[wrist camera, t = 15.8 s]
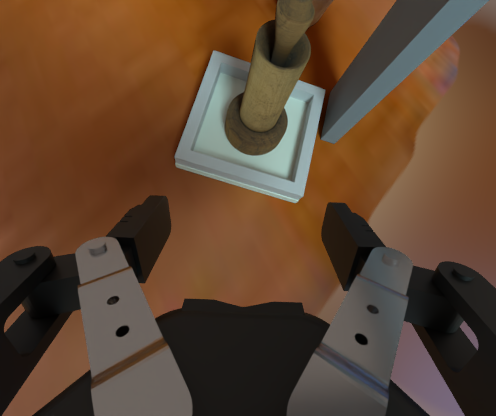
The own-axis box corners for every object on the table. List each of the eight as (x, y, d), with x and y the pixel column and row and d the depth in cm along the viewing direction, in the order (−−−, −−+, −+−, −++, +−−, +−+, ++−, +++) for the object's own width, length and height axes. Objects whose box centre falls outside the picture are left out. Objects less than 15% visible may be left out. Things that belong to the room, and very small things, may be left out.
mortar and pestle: (259, 168, 26) (359, -15, 9) (212, 131, 26) (219, -125, 9) (292, 127, 28) (432, -93, 10) (248, 92, 28) (315, -185, 10)
